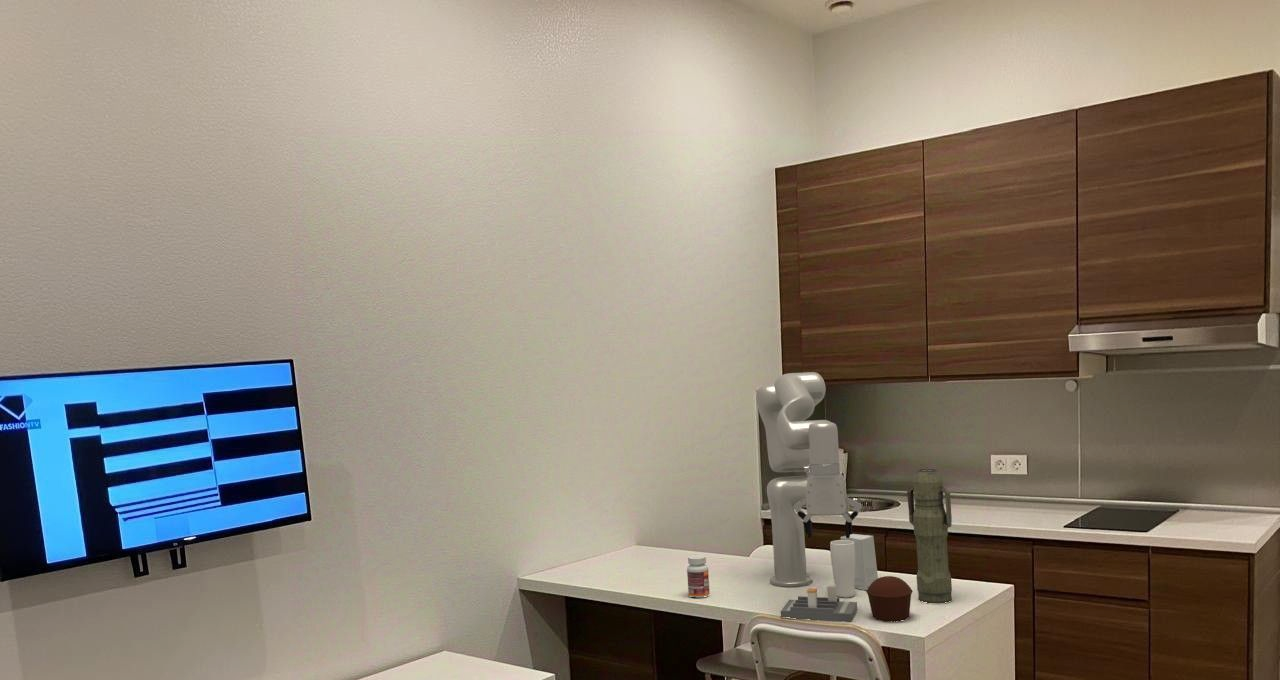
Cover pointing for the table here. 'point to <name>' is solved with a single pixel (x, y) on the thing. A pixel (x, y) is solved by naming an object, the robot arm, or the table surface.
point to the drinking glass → (843, 567)
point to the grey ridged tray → (821, 608)
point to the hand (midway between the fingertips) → (829, 537)
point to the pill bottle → (697, 576)
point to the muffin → (889, 599)
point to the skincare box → (864, 560)
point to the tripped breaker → (812, 597)
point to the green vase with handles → (931, 535)
